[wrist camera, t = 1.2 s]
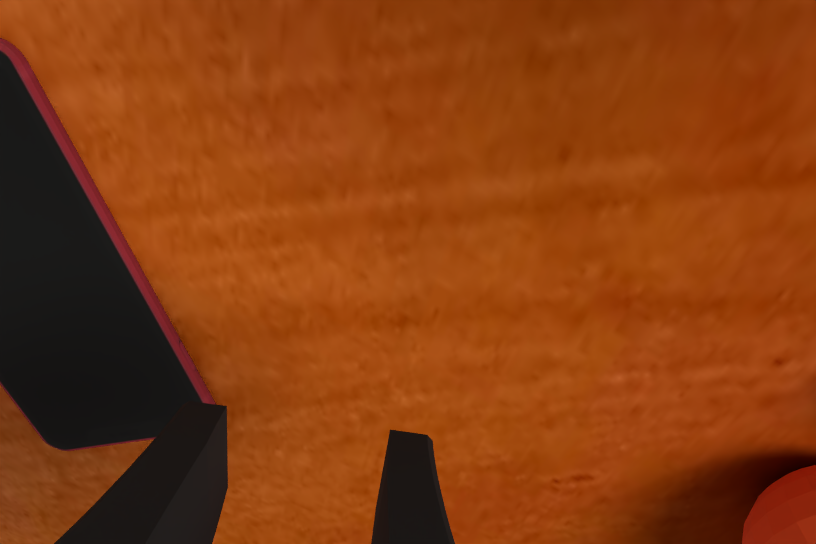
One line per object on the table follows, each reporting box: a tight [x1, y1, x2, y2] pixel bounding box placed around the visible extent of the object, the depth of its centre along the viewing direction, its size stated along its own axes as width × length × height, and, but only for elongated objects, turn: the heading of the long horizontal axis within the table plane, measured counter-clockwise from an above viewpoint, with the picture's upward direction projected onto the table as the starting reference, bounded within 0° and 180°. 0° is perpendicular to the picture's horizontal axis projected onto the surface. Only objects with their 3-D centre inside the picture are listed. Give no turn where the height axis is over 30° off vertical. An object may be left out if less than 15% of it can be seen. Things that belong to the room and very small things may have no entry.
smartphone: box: [0, 38, 216, 451], centre depth 23 cm, size 7×1×15 cm
